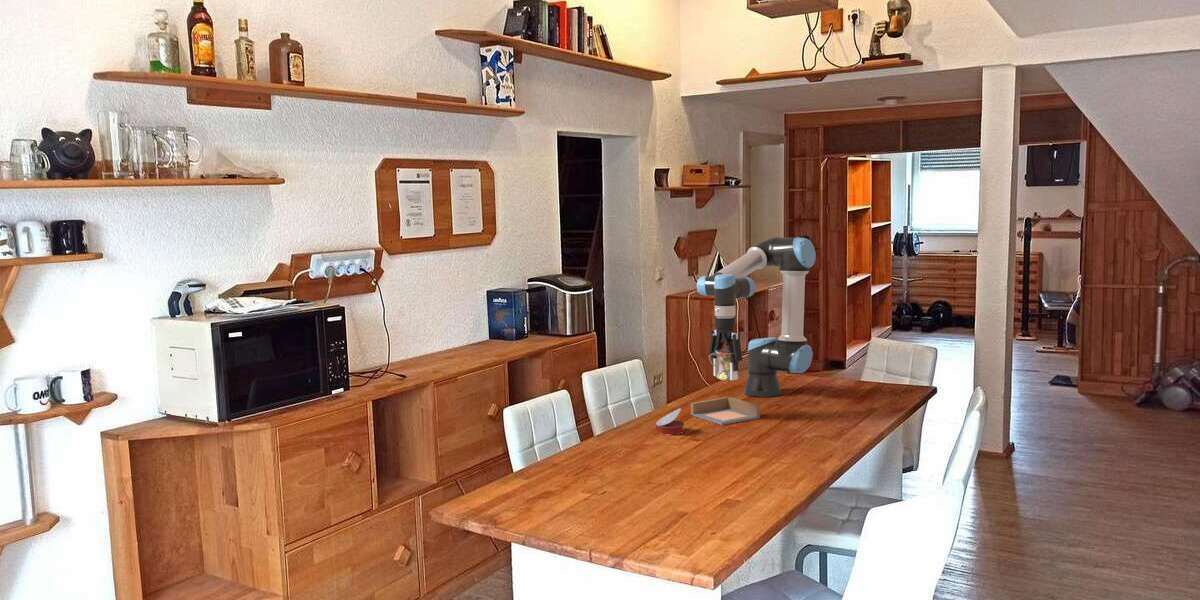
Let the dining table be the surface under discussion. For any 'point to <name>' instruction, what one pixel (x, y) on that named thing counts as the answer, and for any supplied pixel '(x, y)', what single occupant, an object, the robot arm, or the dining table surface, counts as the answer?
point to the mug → (723, 364)
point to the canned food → (670, 424)
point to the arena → (725, 410)
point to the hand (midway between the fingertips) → (725, 377)
